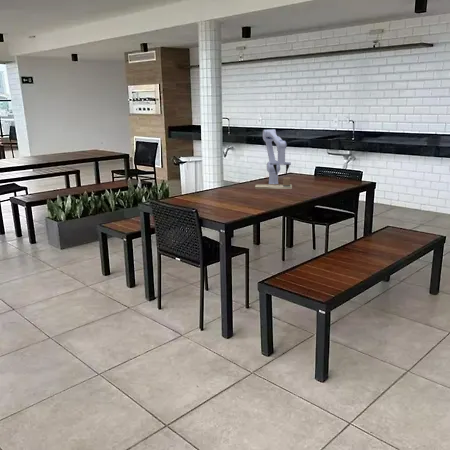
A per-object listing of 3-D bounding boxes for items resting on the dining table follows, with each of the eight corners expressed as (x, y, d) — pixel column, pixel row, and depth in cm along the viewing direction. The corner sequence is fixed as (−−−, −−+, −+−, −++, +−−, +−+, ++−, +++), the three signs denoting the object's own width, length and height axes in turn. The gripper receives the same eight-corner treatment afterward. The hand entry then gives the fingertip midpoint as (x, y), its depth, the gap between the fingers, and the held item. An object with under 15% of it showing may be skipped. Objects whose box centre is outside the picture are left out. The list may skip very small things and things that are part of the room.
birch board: (255, 186, 374) (255, 184, 374) (291, 186, 371) (291, 184, 371) (255, 189, 364) (255, 187, 364) (291, 188, 362) (292, 186, 361)
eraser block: (283, 184, 370) (283, 177, 368) (289, 184, 370) (289, 177, 368) (283, 186, 363) (283, 178, 362) (289, 186, 363) (290, 178, 361)
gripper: (271, 157, 364) (271, 175, 367) (291, 157, 362) (290, 175, 366) (271, 156, 371) (271, 173, 374) (290, 156, 369) (290, 173, 373)
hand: (281, 174), depth 371 cm, fingers open, 7 cm apart
